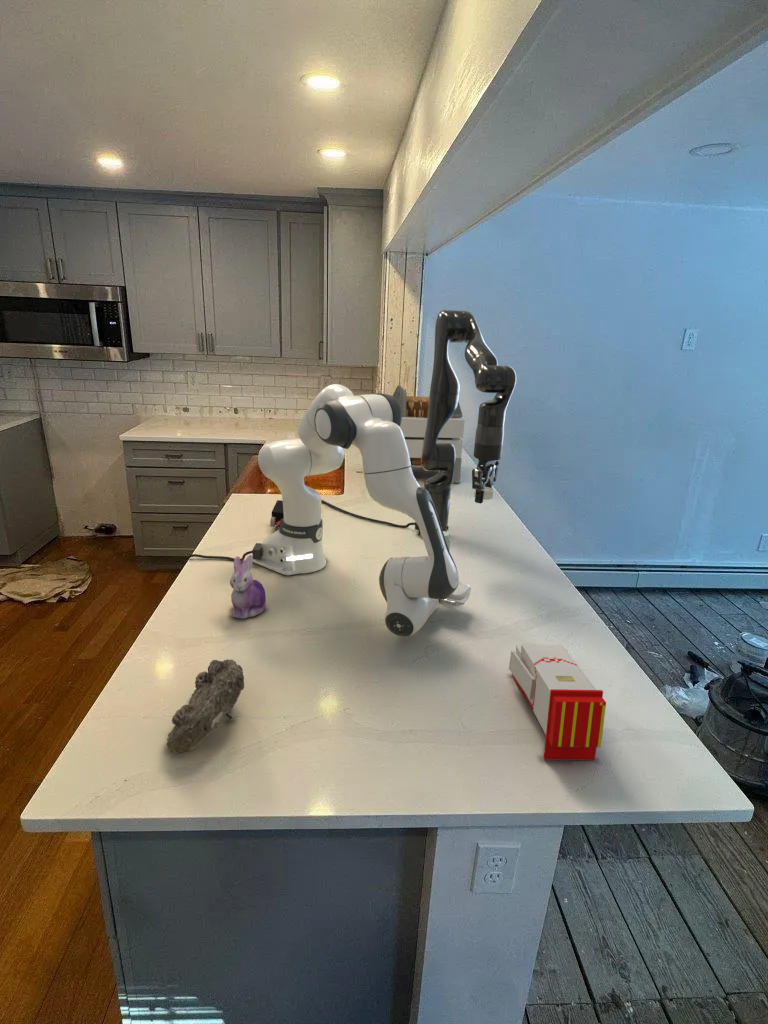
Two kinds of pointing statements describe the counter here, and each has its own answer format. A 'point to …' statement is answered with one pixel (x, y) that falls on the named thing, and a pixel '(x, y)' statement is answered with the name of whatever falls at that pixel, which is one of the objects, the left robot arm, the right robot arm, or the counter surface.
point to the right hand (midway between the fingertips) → (482, 499)
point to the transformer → (416, 427)
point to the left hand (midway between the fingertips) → (440, 575)
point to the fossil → (206, 705)
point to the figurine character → (277, 514)
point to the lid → (486, 493)
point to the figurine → (246, 590)
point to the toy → (560, 700)
